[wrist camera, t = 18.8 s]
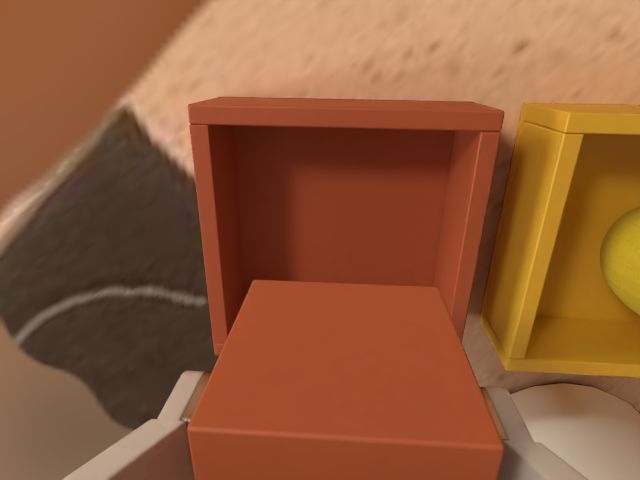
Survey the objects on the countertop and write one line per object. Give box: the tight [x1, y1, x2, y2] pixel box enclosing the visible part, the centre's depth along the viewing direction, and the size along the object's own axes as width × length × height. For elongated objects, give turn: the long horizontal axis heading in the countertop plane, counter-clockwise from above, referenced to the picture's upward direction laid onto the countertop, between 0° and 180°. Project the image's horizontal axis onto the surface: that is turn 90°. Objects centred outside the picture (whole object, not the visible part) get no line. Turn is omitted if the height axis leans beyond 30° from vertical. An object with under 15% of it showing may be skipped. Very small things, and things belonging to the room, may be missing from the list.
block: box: [187, 280, 505, 480], centre depth 10 cm, size 5×5×5 cm
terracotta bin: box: [188, 97, 504, 355], centre depth 21 cm, size 13×13×4 cm
